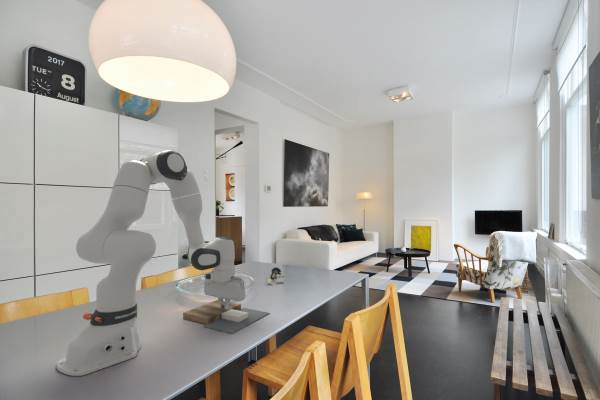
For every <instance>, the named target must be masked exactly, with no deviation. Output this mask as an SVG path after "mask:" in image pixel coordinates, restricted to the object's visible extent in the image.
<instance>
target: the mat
mask: <svg viewBox="0 0 600 400" xmlns="http://www.w3.org/2000/svg"><path fill="white" fill-rule="evenodd" d="M238 311H243V312H248V318H246V319H244V320H242V321H240V322H236V321H231V320H227V319H222V318H220V319H218V320H216V321H214V322H211V323H209V324H207V325H205V324H204V326H203V328H206V329H210V330H213V331H215V330H216V331H219V332H223V333H227V334H231V335H233V334H235V333H236V332H238V331H241V330H242V329H245V327H247V326H250V325H251V324H253V323H255V322H256V321H260V320H261V319H263V318H264V317H267V316H268V315H270V312H268V311H261V310H257V309H252V308H247V307H241V309H240V310H238Z"/></svg>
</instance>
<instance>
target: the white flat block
mask: <svg viewBox="0 0 600 400" xmlns="http://www.w3.org/2000/svg"><path fill="white" fill-rule="evenodd" d="M246 318H248V312H243V311H238V310H233V309H231V310H228V311H226V312H224V313H222V319H227V320H231V321H236V322H240V321H242V320H244V319H246Z"/></svg>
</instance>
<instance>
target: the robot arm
mask: <svg viewBox="0 0 600 400" xmlns="http://www.w3.org/2000/svg"><path fill="white" fill-rule="evenodd" d="M194 175H195V174H194V173H193V172H192V171H191V170H190V169H188V167H187V164H186V161H185V159H184V157H183V156H182V154H181V153H179V151H176V150H172V149H169V150H163V151H160V152H156V153H152V154H150V155H148V156H146V157H143V158H141V159H140V160H133V159H132V160H127V161H125V162H123V164H121V166H120V168H119V170H118V172H117V174H116V177H115V179H114V181H113V184H112V185H113V186H112V189H111V193H110V196H109V199H108V202H107V204H106V205H107V206H106V208H105V209H104V212H103V213H102V215H101V217H100V218H99V219H98V220H97V221H96V223H95V225H93V226H92V227H91V228H90V229H89V230H88V231H86V232H85V233H83V234H82V235H81V236H80V237H79V238H78V240H77V242H76V254H77V256H78V257H79V258H80V259H82V260H84V261H87V262H89V263H94V264H100V265H101V264H103V265H106V264H107V265H110V269H109V271H108V274H107V276H105V277H104V278H102V279H101V280H100V281H99V282H98V284H97V285H96V302H95V303H96V306H95V307H96V309H95V310H94V312H93V313H90V312H84V314H83V315H82V319H83V320H86V321H89V324H88V325H87V326H86V327H85V328H84V329H82V331H80V332H79V333H78V334H77V335H76V336H75V337H74V338H73V339H72V340H71V341H69V343H68V345H67V350H66V355H65V357H63V358H61V359H59V360H57V363H56V370H57V371H58V372H61V373H62V374H64V375H67V376H71V377H72V376H73V377H79V376H80V377H82V376H86V375H88V374H92V373H94V372H97V371H99V370H103V369H105V368H108V367H110V366H113V365H116V364H118V363H121V362H125V361H127V360H131V359H133V358H136V357H137V355H138V351H140V349H141V347H142V342H141V340H140V337H139V331H138V324H137V318H138V304H137V303H136V301H137V298H136V297H137V283H138V277H139V275H140V273H141V270H142V269H143V267H145V265H146V264H147V263H148V262H149V261H151V260H152V259H153V257H154V255H155V253H156V249H157V243H156V239H155V238H154V236H153V235H152V234H150V233H149V232H143V231H141V230H135V229H134V230H133V229H131V230H130V229H129V228H130V227H131V225H133V224H134V223H135V222H136V221H138V220H140V219H141V218H143V216H144V214H145V210H146V205H147V201H148V196H149V191H150V186H151V185H156V184H159V183H160V184H161V183H164V184H165V185H166V186H167V187H168V188H169V192H170V197H171V200H172V201H171V202H172V204H173V207H174V209H175V212H176V214H177V215H178V218H179V219H180V220H181V222H182V224H183V226H184V229H185V234H186V238H187V242H188V249H187V259H188V262H189V263H190V264H191V265H192V267H193V268H194V269H196V270H198V271H206V270H210V269H213V271H210V272H207V273H204V274H203V278H204V281H203V294H204V295H205V296H206V297H211V296H213V297H215V298H217V300H218V301H219V303H220V308H223V309H228V304H229V302H231V301H235V302H241V301H243V300H245V299H246V288H245V281H244V279H242V277H237V276H236V266H235V259H236V258H235V257H236V255H235V254H236V253H235V252H236V251H235V242H234V240H233V239H231V238H229V237H226V236H216V237H214V238H213V239H212V240H211V241H209V242H207V243H206V241H205V239H204V235H203V232H202V227H201V220H200V219H201V214H202V212H203V201H202V194H201V192H200V188H199V185H198V182H197V180H196V178H195V176H194ZM213 297H212V298H213ZM224 301H226V302H225V303H224Z"/></svg>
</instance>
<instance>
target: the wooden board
mask: <svg viewBox="0 0 600 400" xmlns="http://www.w3.org/2000/svg"><path fill="white" fill-rule="evenodd" d="M223 301H224V303H225V302H226V301H225V300H223ZM231 309H233V310H240V309H242V304H241V303H236V302H231V301H230V302H229V304H228V309H223V308H220V303H219V301H218V299H216V300H214V301H211V302H209V303H205V304H203V305H200V306H198V307H195V308H193V309H189V310H187V311H185V312H182V319H183V320H187V321H191V322H194V323H198V324H202V325H204V326H205V325H207V324H209V323H211V322H214V321H216V320H218V319H220V318H222V313H224V312H226V311H228V310H231Z"/></svg>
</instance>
